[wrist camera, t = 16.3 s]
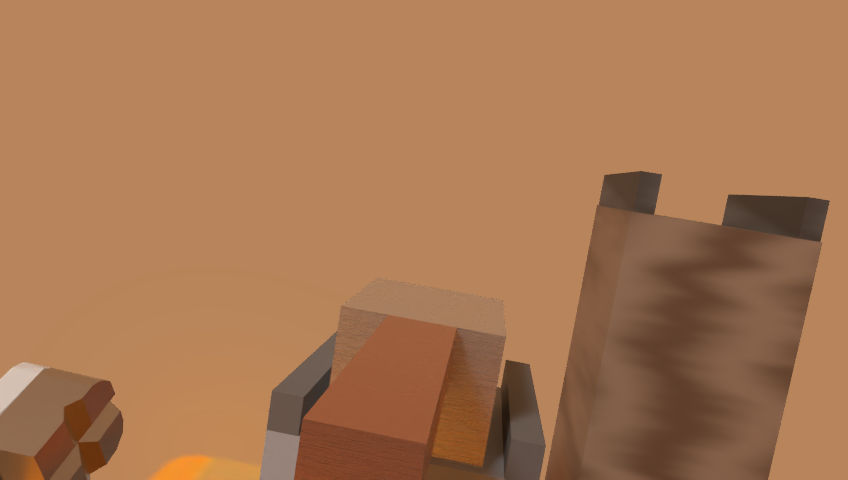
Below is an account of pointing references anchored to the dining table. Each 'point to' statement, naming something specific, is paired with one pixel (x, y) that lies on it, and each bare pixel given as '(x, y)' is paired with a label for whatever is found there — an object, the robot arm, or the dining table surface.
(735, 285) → the tall post
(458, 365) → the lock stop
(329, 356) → the grey post
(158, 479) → the dining table surface
